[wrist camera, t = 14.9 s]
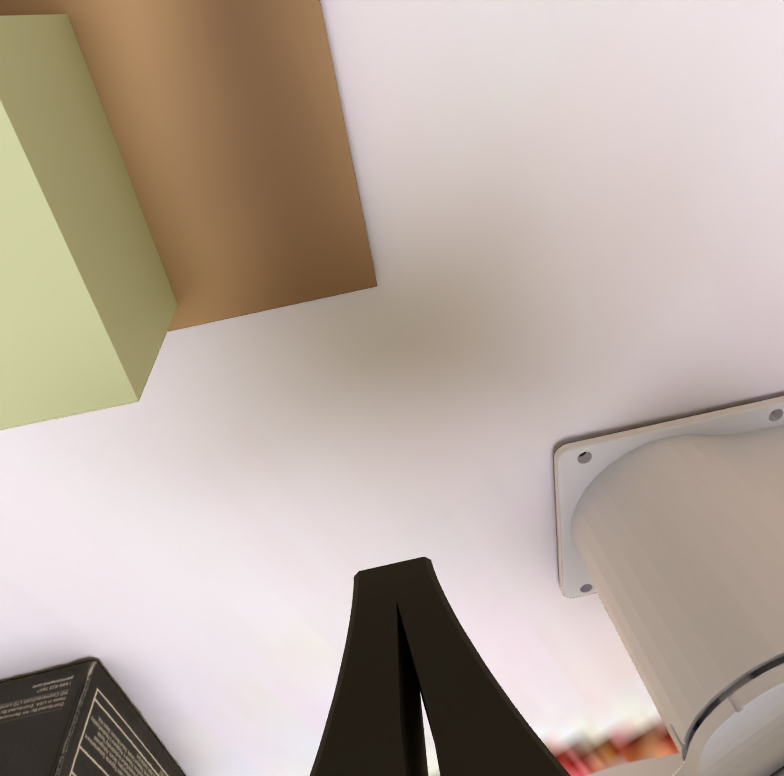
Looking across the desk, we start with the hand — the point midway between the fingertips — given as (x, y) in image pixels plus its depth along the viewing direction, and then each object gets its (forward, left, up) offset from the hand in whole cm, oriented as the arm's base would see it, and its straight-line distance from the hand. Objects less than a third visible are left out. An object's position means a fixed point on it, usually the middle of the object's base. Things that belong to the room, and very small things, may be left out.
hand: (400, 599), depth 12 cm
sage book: (+6, -7, -9) cm, 13 cm away
